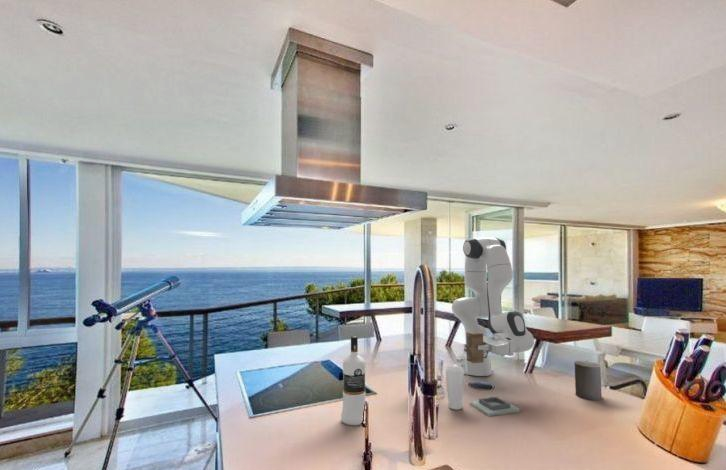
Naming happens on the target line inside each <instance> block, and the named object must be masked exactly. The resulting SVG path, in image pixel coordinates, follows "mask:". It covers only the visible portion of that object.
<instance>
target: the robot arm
mask: <svg viewBox="0 0 726 470" xmlns="http://www.w3.org/2000/svg"><path fill="white" fill-rule="evenodd" d="M462 251H463V253H464V255H465V261H464V263H465V264H464V285H465V287H466V288H467V289H468V290H469V291H472V292H473V293H474V296H473V297H471V296H470V297H467V296H466V297H465V296H464V297H460V298H456V299H454V301H453V302H452V304H451V311H452V314H453V315H454V316H455V317H456V318H457V319H459V321H460V322H461V324H462V325H463V327H464V332H465V333H464V334H465V336H466V332H479V333H482V334H483V345H477V346H476V347H477V349H478V350H483V360H484V362H483V363H471V362H469V361H467V352H466V343H464V344H463V351H462V352H461V353H459V354H458V356H457V357H456V363H454V364H452V366H454V367H460V368H462V369H463V373H464V375H469V376H476V377H488V376H491V375H492V374H493V372H494V369H493V366H492V359H491V354H489V353H492V354H495V355H499V356H509V357H511V356H512V357H514V353H516V354H517V353H525V352H527V351H528V352H529V351H530V350H531V349H533V347H534V345H535V338H534V335H533V334H532V333H531V332H530V331H529V330H528V329H527V326H526V323H525V319H524V317H523V315H522V314H521V313H520V312H518V311H516V310H510V311H506V312H503V308H502V307H503V306H502V299H501V298H502V297H501V296H502V293H503V292H504V290H505V288H507V286H509V285H510V284H511V282H512V280H513V275H514V273H513V267H512V264H511V260H510V257H509V255H508V252H507V245H506V242H505V241H504V240H503V239H501V238H498V237H489V236H488V237H486V236H485V237H470V238H467V239H466V240H465V241H464V243H463V246H462ZM478 319H487V327H488V330H489V331H490V333H491V334H492V335H491V336H489V337H488V330H487V329H486V328H485V327H484V326H483V325H481V324H479V322H478Z"/></svg>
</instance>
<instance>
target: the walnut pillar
mask: <svg viewBox="0 0 726 470" xmlns="http://www.w3.org/2000/svg"><path fill="white" fill-rule="evenodd" d="M465 344H466V352H467V361H469V362H471V363H483V362H484V360H483V350H478V349H477V347H476V346H477V345H483V334H482V333H479V332H466V335H465Z"/></svg>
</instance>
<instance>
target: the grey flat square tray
mask: <svg viewBox="0 0 726 470" xmlns="http://www.w3.org/2000/svg"><path fill="white" fill-rule="evenodd" d="M469 404H470V406H472V407H474V408H475V409H477V410H479V411H480V412H481V413H483V414H484V415H486V416H488V417H492V416H499V415H506V414H514V413H520V412H521V409H520V408H519V407H517V406H515V405H513V404H511V403H510V402H508V401H506V400H504V399H501V398H499V397H498V396H492V397H483V398H478V400H475V401H474V400H472V401H470V402H469Z"/></svg>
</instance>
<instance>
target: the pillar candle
mask: <svg viewBox="0 0 726 470" xmlns="http://www.w3.org/2000/svg"><path fill="white" fill-rule="evenodd" d="M601 374H602V373H601V364H599V363H597V362H594V361H589V360H588V361H587V360H575V361H574V384H575V385H574V388H575V396H576V397H579V398H582V399H585V400H589V401H590V400H591V401H599V400H602V395H603V394H602V376H601Z"/></svg>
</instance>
